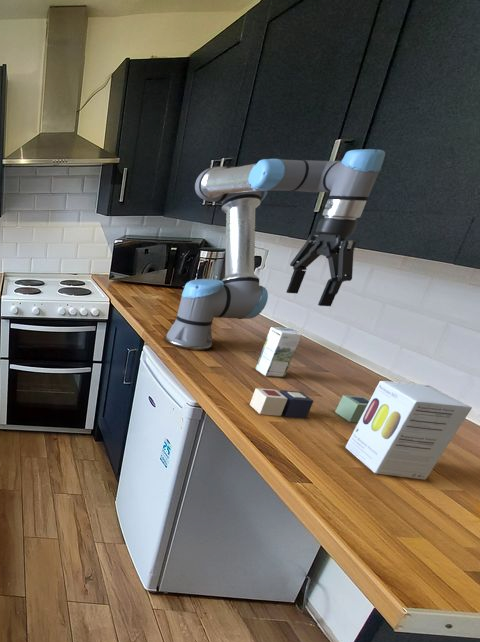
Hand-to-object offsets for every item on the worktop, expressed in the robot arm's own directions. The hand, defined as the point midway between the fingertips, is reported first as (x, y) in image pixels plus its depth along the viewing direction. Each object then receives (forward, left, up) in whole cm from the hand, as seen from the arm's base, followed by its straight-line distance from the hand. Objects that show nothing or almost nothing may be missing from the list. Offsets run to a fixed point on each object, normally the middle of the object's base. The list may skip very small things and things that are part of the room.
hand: (307, 299), depth 111 cm
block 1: (+22, -14, -25) cm, 36 cm away
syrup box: (-4, +1, -25) cm, 25 cm away
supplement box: (+42, -1, -25) cm, 49 cm away
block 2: (+22, -8, -25) cm, 34 cm away
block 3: (+22, +7, -25) cm, 34 cm away
